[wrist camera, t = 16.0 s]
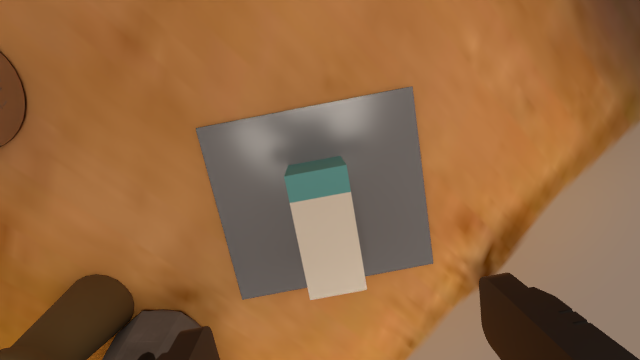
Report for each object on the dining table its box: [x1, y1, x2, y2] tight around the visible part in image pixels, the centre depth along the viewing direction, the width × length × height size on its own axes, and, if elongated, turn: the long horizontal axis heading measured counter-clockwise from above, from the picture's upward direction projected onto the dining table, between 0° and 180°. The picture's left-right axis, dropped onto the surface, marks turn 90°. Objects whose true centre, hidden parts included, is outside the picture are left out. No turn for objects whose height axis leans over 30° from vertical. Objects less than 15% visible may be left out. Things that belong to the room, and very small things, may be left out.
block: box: [284, 156, 367, 300], centre depth 26 cm, size 4×4×10 cm
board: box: [196, 87, 433, 300], centre depth 28 cm, size 18×16×1 cm
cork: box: [0, 275, 134, 360], centre depth 24 cm, size 6×6×11 cm
